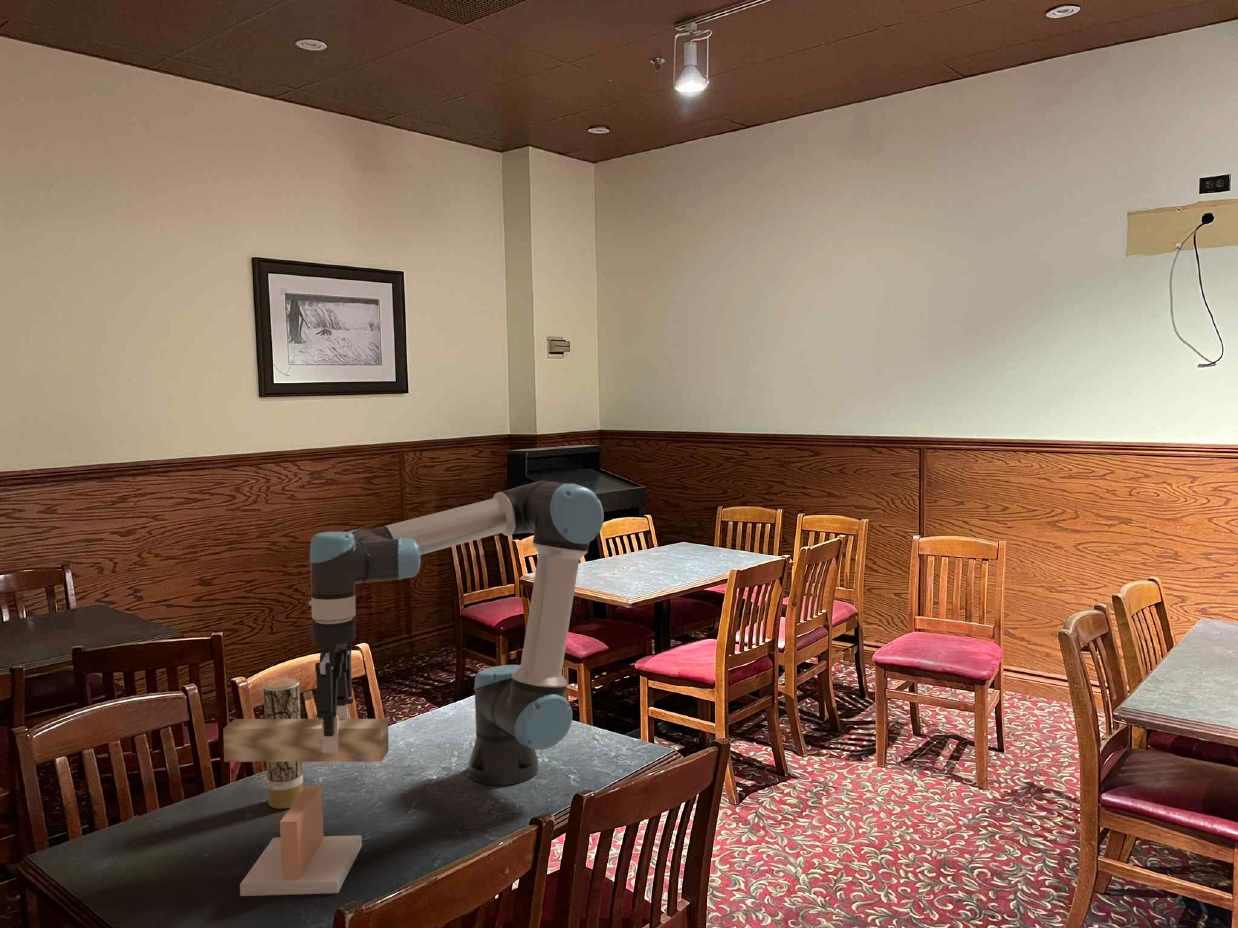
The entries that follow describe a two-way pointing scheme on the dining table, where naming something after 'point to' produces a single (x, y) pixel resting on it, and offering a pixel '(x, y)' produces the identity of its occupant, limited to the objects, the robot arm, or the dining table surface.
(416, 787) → the dining table surface
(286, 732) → the birch beam
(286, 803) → the bark-covered stump
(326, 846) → the balance stand
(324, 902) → the dining table surface
